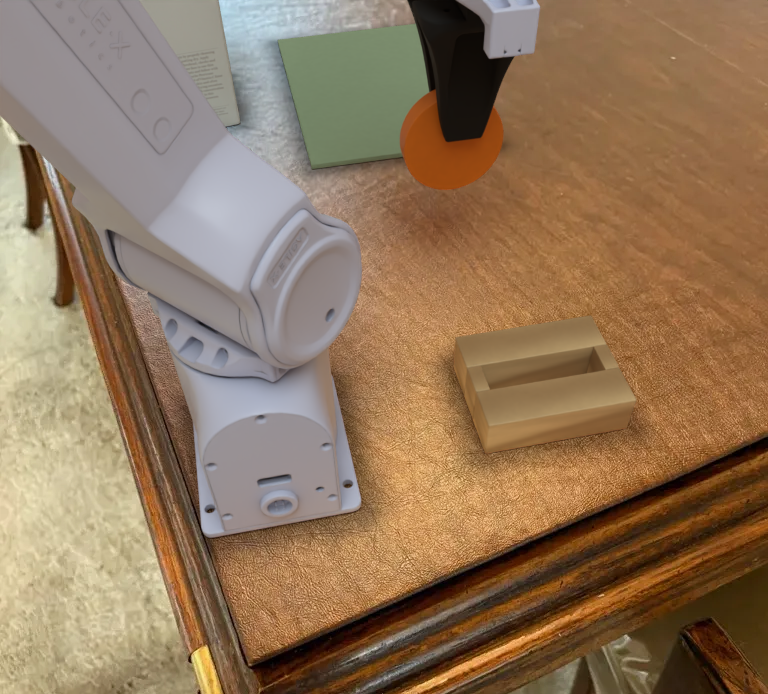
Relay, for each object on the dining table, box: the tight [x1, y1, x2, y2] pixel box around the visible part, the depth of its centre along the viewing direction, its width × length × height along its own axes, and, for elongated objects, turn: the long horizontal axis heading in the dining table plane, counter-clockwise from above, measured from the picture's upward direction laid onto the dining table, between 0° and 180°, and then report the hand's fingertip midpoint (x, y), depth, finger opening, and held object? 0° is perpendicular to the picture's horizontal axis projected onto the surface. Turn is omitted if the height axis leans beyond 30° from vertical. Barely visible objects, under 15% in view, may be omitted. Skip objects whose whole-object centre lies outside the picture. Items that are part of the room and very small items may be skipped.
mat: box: [277, 23, 429, 170], centre depth 65 cm, size 20×14×1 cm
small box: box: [139, 0, 241, 128], centre depth 59 cm, size 8×6×13 cm
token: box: [400, 89, 505, 191], centre depth 44 cm, size 1×6×6 cm, turn 101°
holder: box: [452, 314, 637, 455], centre depth 44 cm, size 7×8×2 cm
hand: (458, 128), depth 43 cm, fingers closed on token, 1 cm apart
